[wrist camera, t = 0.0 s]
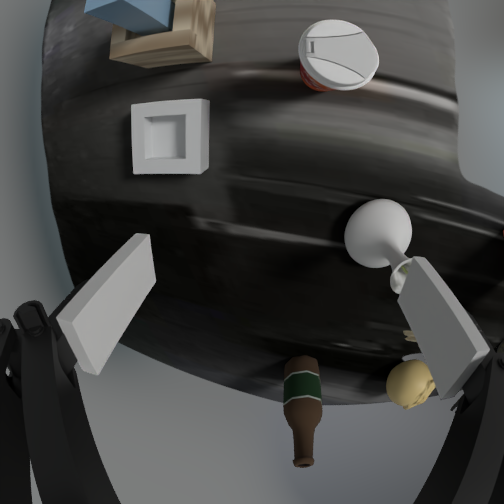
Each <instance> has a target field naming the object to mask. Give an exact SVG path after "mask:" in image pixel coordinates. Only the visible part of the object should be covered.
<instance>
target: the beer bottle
mask: <svg viewBox="0 0 504 504" xmlns="http://www.w3.org/2000/svg"><path fill="white" fill-rule="evenodd" d="M283 407H284V415H285V417H286V420H287V422H288V424H289V426H290V427H291V429H292V430H293V438H294V457H295V459H294V460H293V463H294V466H295V467H300V468H304V467H309V466H311V465H313V464H314V459H313V439H314V431H315V428H316V426H317V425H318V423H319V422H320V420H321V417H322V397H321V385H320V374H319V368H318V363H317V360H316V359H315V358H312V357H310V356H307V355H303V356H296V357H292V358H291V359H290V360H289V361H288V362H287V363H286V364H285V369H284V403H283Z"/></svg>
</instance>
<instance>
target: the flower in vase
mask: <svg viewBox="0 0 504 504" xmlns="http://www.w3.org/2000/svg"><path fill="white" fill-rule="evenodd" d="M411 235H412V227H411V221H410V218H409V215H408V213H407V212H406V210H405V209H404V208H403V207H402V206H401V205H399V204H398V203H396V202H394V201H392V200H387V199H377V200H372V201H370V202H367V203H365V204H364V205H362V206H361V207H359V208H358V209H357V210H356V211H355V212H354V213H353V215H352V216H351V218H350V219H349V221H348V223H347V226H346V229H345V236H344V237H345V246H346V249H347V251H348V253H349V255H350V256H351V257H352V258H353V259H354V260H355V261H356V262H358V263H359V264H361V265H364V266H366V267H371V268H380V267H385V266H387V265H391V267H392V271H393V272H392V275H391V278H390V285H391V288H392V290H393V291H394V292H396V293H397V294H400V293H401V290H402V288H403V285H404V282H405V279H406V276H407V274H408V271H409V268H410V265H411V262H412V258H410V259H409V258H408V257H406V256H405V255H404V252H405V251H406V249H407V248H408V246H409V243H410V240H411ZM403 332H404V335H407V336H408V338H405V339H406V340H408V341H414V342H417V340H416V338H415V336H414V334H413V332H412V331H403ZM418 346H419V345H418Z"/></svg>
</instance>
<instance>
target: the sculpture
mask: <svg viewBox="0 0 504 504" xmlns="http://www.w3.org/2000/svg"><path fill="white" fill-rule="evenodd" d="M435 387H436V386H435V383H434V381H433V378H432V376H431V373H430V371H429V368H428V366H427V365H426V364H425V363H423V362H422V361H420V360H408V361H405V362H402V363H400V364H399V365H397V366H396V367H394V368H393V369H392V370H391V372H390V374H389V376H388V378H387V383H386V390H387V394H388V396H389V398H390V399H391V400H392V401H393V402H394V403H396V404H397V405H401V406H403V408H404V409H405V410H406V409H409V408H412V407H414V406H416V405H418V404H422V403H423V402H425V400H426V399H427V398H428V395H430V393H431V392H432V391H433V389H434V388H435Z"/></svg>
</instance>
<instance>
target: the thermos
mask: <svg viewBox="0 0 504 504" xmlns="http://www.w3.org/2000/svg"><path fill="white" fill-rule="evenodd" d="M497 352H502V353H504V340H503V341H502V342H501V344H500V345H499V347H498V349H497Z"/></svg>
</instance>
